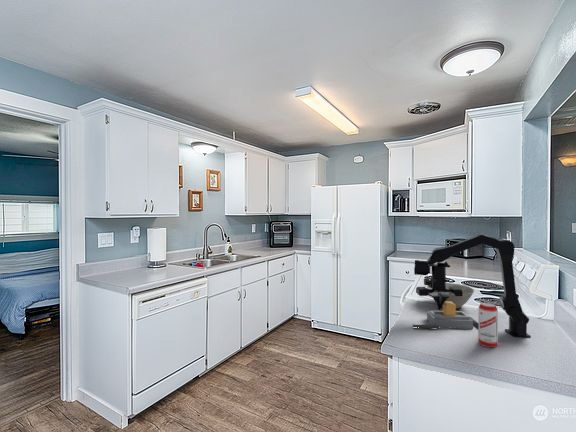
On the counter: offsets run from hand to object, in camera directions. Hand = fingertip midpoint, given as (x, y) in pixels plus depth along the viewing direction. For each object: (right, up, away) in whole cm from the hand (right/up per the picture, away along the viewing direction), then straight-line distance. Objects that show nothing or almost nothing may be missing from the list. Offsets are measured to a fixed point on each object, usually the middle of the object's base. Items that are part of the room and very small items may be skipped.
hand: (439, 309), depth 137 cm
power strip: (+5, -6, 0) cm, 8 cm away
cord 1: (-9, -7, -5) cm, 12 cm away
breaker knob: (+4, -2, 0) cm, 5 cm away
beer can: (+8, -7, -21) cm, 24 cm away
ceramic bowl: (+17, -5, +22) cm, 29 cm away
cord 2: (+15, -6, -2) cm, 17 cm away
